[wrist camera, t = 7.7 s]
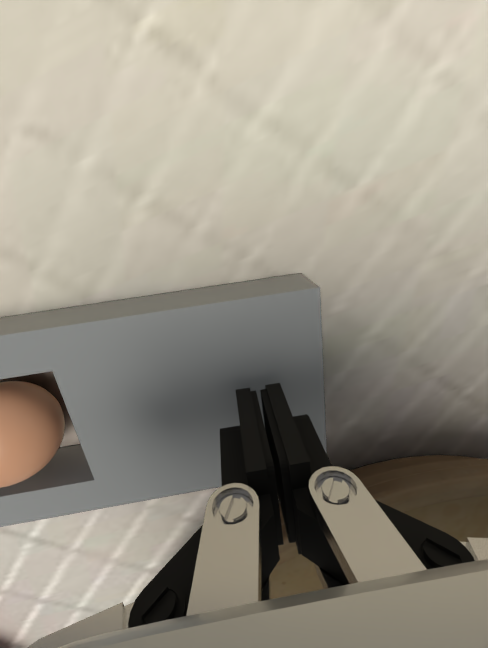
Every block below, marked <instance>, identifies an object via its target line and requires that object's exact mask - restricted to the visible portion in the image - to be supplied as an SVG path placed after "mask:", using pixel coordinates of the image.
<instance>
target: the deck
mask: <svg viewBox="0 0 488 648" xmlns="http://www.w3.org/2000/svg"><path fill="white" fill-rule="evenodd" d="M50 371H53V374H54V377H55V379H56V382H57V384H58V387H59V389H60V392H61V395H62V397H63V400H64V402H65V405H66V408H67V410H68V413H69V415H70V418H71V420H72V423H73V426H74V428H75V431H76V433H77V436H78V439H79V441H80V445H74V446H69V447H63V448H59V449H58V450H57V452H56V454H55V455H54V457H53V458H52V459H51V460H50V462H49V463H48V464H47V465H46V466H45V467H43V468H42V469H41V470H40V471H39V472H37V473H36V474H34V475H33V476H31V477H30V478H28V479H26V480H24V481H22V482H19V483H17V484H14V485H11V486H7V487H2V488H0V527H3V526H8V525H14V524H19V523H25V522H30V521H36V520H41V519H47V518H52V517H58V516H63V515H69V514H74V513H80V512H85V511H91V510H96V509H101V508H107V507H112V506H118V505H123V504H129V503H134V502H140V501H145V500H151V499H156V498H162V497H167V496H173V495H178V494H184V493H189V492H195V491H200V490H206V489H211V488H217V487H222V483H221V455H220V429H221V428H227V427H233V426H239V425H240V421H239V414H238V406H237V398H236V390H237V389H243V388H250V391H255V390H256V393H257V397H258V401H259V405H260V410H261V414H262V418H263V422H264V416H263V408H262V400H261V392H260V390H262V389H265V385H268V384H274V383H280V385H281V387H282V390H283V392H284V395H285V398H286V400H287V403H288V405H289V408H290V411H291V413H292V416H299V415H305V414H307V415H308V416H309V417H310V419H311V422H312V424H313V426H314V428H315V430H316V432H317V435H318V437H319V439H320V441H321V443H322V445H323V448H324V450H325V452H326V454H327V447H326V423H325V398H324V373H323V349H322V324H321V299H320V287H319V286H318V285H316V284H315V283H314V282H312V281H311V280H310V279H308V278H307V277H306V276H304V275H303V274H302V273H298V274H292V275H285V276H278V277H271V278H265V279H258V280H251V281H244V282H238V283H231V284H224V285H217V286H211V287H204V288H197V289H190V290H184V291H177V292H170V293H163V294H157V295H150V296H143V297H136V298H130V299H123V300H116V301H109V302H103V303H96V304H89V305H82V306H76V307H69V308H62V309H55V310H49V311H42V312H35V313H28V314H22V315H15V316H8V317H1V318H0V379H6V378H12V377H18V376H25V375H31V374H37V373H44V372H50ZM264 426H265V424H264Z"/></svg>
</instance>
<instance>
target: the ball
mask: <svg viewBox="0 0 488 648" xmlns="http://www.w3.org/2000/svg"><path fill="white" fill-rule="evenodd" d="M64 430H65V419H64V414H63V410H62V408H61V406H60V404H59V402H58V401H57V400H56V398H55V397H54V396H53V395H52V394H51V393H50V392H48V391H47V390H45V389H44V388H42V387H40V386H38V385H35V384H32V383H28V382H23V381H5V382H0V488H2V487H7V486H11V485H14V484H17V483H19V482H22V481H24V480H26V479H28V478H30V477H31V476H33V475H34V474H36V473H37V472H39V471H40V470H41V469H42V468H43V467H45V466H46V465H47V464H48V463H49V462H50V460H51V459H52V458H53V457H54V455H55V454H56V452H57V450H58V449H59V447H60V444H61V442H62V439H63V436H64Z"/></svg>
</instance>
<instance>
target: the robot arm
mask: <svg viewBox="0 0 488 648" xmlns="http://www.w3.org/2000/svg"><path fill="white" fill-rule="evenodd" d="M260 392H261V400H262V408H263V416H264V422H263V418H262V414H261V410H260V405H259V401H258V397H257V393H256V390H255V391H250V388H243V389H237V390H236V398H237V406H238V414H239V421H240V425H239V426H233V427H227V428H221V429H220V455H221V483H222V487H220V488H219V489H217V490H216V491H215V492H214V493H213V494H212V495H211V497H210V498H209V500H208V503H207V506H206V511H205V516H204V522H203V525H202V526H201V528H200V529H199V530H198V531H197V532H196V533H195V534H194V535H193V536H192V537H191V538H190V539H189V541H188V542H187V543H186V544H185V545H184V546H183V547H182V548H181V549H180V550H179V551H178V552H177V554H176V555H175V556H174V557H173V558H172V559H171V560H170V561H169V562H168V563H167V564H166V565H165V567H164V568H163V569H162V570H161V571H160V572H159V573H158V574H157V575H156V576H155V577H154V578H153V580H152V581H151V582H150V583H149V584H148V585H147V586H146V587H145V588H144V589H143V591H142V592H141V593H140V595H139V596H138V597H137V599H136V600H135V602H133V603H131V604H129V605H127V606H125V607H124V604H123V602H122V603H120V604H117V605H115V606H113V607H111V608H108V609H106V610H104V611H102V612H99V613H97V614H95V615H93V616H90V617H88V618H86V619H84V620H81V621H79V622H77V623H75V624H72V625H70V626H68V627H66V628H63V629H61V630H59V631H57V632H54V633H52V634H50V635H48V636H45V637H43V638H41V639H39V640H38V641H36V642H35V643H33V644H31V645H30V646H29V647H28V648H488V538H471V537H467V541H466V542H460V541H458V540H457V539H456V538H454V537H452V536H451V535H449V534H447V533H445V532H443V531H441V530H439V529H437V528H435V527H433V526H430V525H428V524H426V523H424V522H422V521H420V520H418V519H415V518H413V517H411V516H409V515H407V514H405V513H403V512H401V511H398V510H396V509H394V508H392V507H390V506H388V505H386V504H383V503H381V502H379V501H377V500H375V499H374V498H373V497H372V495H371V494H370V493H369V491H368V490H367V489H366V487H365V486H364V485H363V483H362V482H361V481H360V479H359V478H358V477H357V476H356V475H355V474H354V473H352V472H350V471H349V470H347V469H344V468H341V467H335V466H332V465H331V463H330V461H329V458H328V456H327V454H326V452H325V450H324V448H323V445H322V443H321V441H320V439H319V437H318V435H317V432H316V430H315V428H314V426H313V424H312V422H311V419H310V417H309V416H308V415H307V414H305V415H299V416H292V413H291V411H290V408H289V405H288V403H287V400H286V398H285V395H284V392H283V390H282V387H281V385H280V383H274V384H268V385H265V389H262V390H260ZM264 424H265V426H264ZM278 497H279V501H278ZM279 502H280V506H281V511H282V515H283V519H284V524H285V528H286V532H287V537H288V541H289V543H294V542H296V546H297V550H298V554H299V555H300V554H302V556H304V557H305V558H307V559H308V560H310V561H311V562H313V563H314V564H315V569H316V572H317V575H318V577H319V580H320V582H321V584H322V587H323V589H322V590H317V591H311V592H306V593H301V594H296V595H291V596H286V597H280V598H275V599H271V579H270V574H271V572H272V571H273V569H274V568H275V566H276V565H277V563H278V562H279V560H280V556H279V548H278V545H283V544H284V542H283V534H282V526H281V518H280V509H279Z"/></svg>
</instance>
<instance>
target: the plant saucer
mask: <svg viewBox="0 0 488 648" xmlns="http://www.w3.org/2000/svg"><path fill="white" fill-rule="evenodd" d="M350 472H352V473H354V474H355V475H356V476H357V477H358V478H359V479H360V481H361V482H362V483H363V485H364V486H365V487H366V489H367V490H368V491H369V493H370V494H371V495H372V497H373V498H374V499H375V500H377V501H379V502H381V503H383V504H386V505H388V506H390V507H392V508H394V509H396V510H398V511H401V512H403V513H405V514H407V515H409V516H411V517H413V518H415V519H418V520H420V521H422V522H424V523H426V524H428V525H430V526H433V527H435V528H437V529H439V530H441V531H443V532H445V533H447V534H449V535H451V536H452V537H454V538H456V539H457V540H458V541H460V542H466V541H467V537H471V538H488V459H479V458H473V457H466V456H451V455H430V456H414V457H406V458H398V459H392V460H388V461H383V462H379V463H374V464H370V465H366V466H363V467H360V468H356V469H353V470H350ZM279 509H280V518H281V526H282V534H283V542H284V544H283V545H278V548H279V556H280V560H279V562H278V563H277V565H276V566H275V568H274V569H273V571H272V572H271V574H270V579H271V599H275V598H280V597H286V596H291V595H296V594H301V593H306V592H311V591H317V590H322V589H323V587H322V584H321V582H320V580H319V577H318V575H317V572H316V569H315V564H314V563H313V562H311V561H310V560H308V559H307V558H305V557H304V556H302V554H300V555H299V554H298V550H297V546H296V542H294V543H289V541H288V537H287V532H286V528H285V524H284V519H283V515H282V511H281V506H280V503H279Z"/></svg>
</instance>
